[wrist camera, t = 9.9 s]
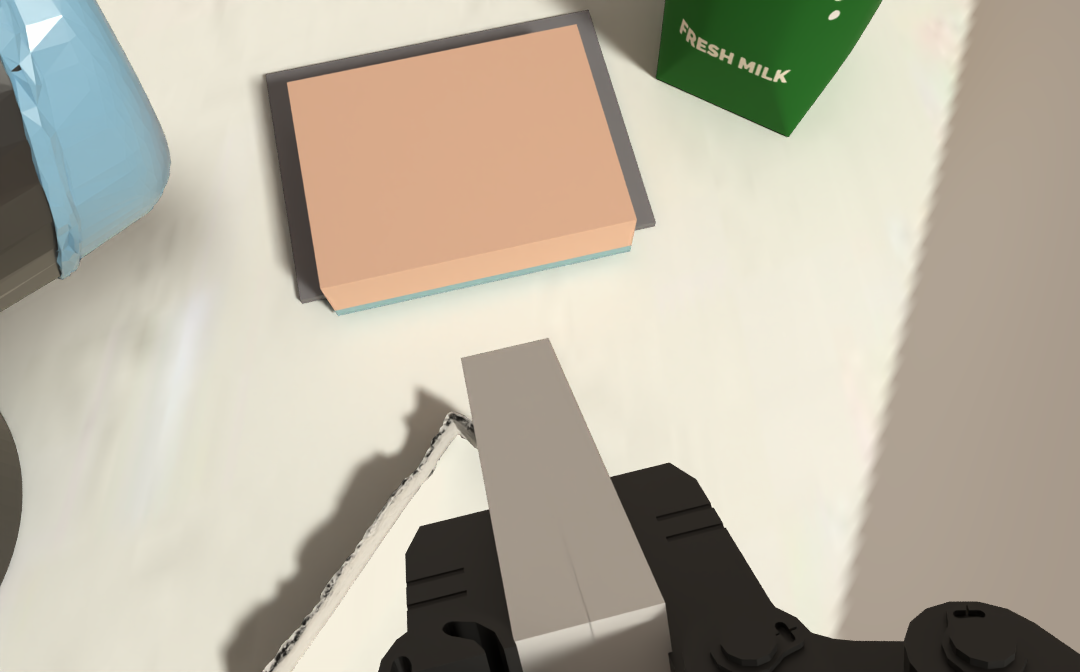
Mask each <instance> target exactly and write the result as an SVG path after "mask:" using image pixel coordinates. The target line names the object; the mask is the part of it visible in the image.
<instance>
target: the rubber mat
mask: <svg viewBox="0 0 1080 672" xmlns="http://www.w3.org/2000/svg"><path fill="white" fill-rule="evenodd" d="M575 24H577V27H578V30H579V34H580V37H581V40H582V43H583V47H584V50H585V53H586V56H587V59H588V63H589V66H590V69H591V72H592V76H593V79H594V82H595V85H596V89H597V92H598V95H599V98H600V102H601V105H602V108H603V111H604V115H605V118H606V121H607V124H608V128H609V131H610V134H611V137H612V141H613V144H614V147H615V150H616V154H617V157H618V160H619V163H620V167H621V170H622V173H623V176H624V180H625V183H626V186H627V189H628V192H629V196H630V199H631V202H632V205H633V209H634V212H635V215H636V218H637V221H636V226H635V230H639V229H644V228H648V227H653V226H655V219H654V215H653V212H652V209H651V206H650V203H649V200H648V196H647V193H646V190H645V187H644V184H643V181H642V178H641V174H640V171H639V168H638V165H637V162H636V159H635V155H634V152H633V149H632V146H631V143H630V140H629V136H628V133H627V130H626V127H625V124H624V121H623V117H622V114H621V111H620V108H619V105H618V102H617V98H616V95H615V92H614V89H613V86H612V83H611V80H610V76H609V73H608V70H607V67H606V64H605V61H604V57H603V54H602V51H601V48H600V45H599V42H598V38H597V35H596V32H595V29H594V26H593V23H592V19H591V16H590V13H589V10H585V11H580V12H575V13H570V14H565V15H560V16H555V17H550V18H545V19H540V20H535V21H530V22H525V23H520V24H515V25H510V26H505V27H500V28H495V29H490V30H485V31H480V32H475V33H470V34H465V35H460V36H455V37H450V38H445V39H440V40H435V41H430V42H425V43H420V44H415V45H410V46H405V47H400V48H395V49H390V50H385V51H380V52H375V53H370V54H365V55H360V56H355V57H351V58H346V59H341V60H336V61H331V62H326V63H321V64H316V65H311V66H306V67H301V68H296V69H291V70H286V71H281V72H276V73H271V74H266V80H267V86H268V93H269V99H270V106H271V112H272V119H273V125H274V132H275V138H276V145H277V152H278V158H279V165H280V171H281V178H282V184H283V191H284V197H285V204H286V210H287V217H288V223H289V230H290V236H291V243H292V250H293V256H294V263H295V269H296V276H297V282H298V289H299V295H300V300H301V302H302V303H307V302H312V301H316V300H321V299H326V297H325V295H324V294H323V292H322V291H321V289H320V283H319V277H318V271H317V265H316V259H315V252H314V246H313V240H312V234H311V228H310V222H309V215H308V209H307V203H306V197H305V191H304V185H303V179H302V172H301V166H300V160H299V154H298V148H297V142H296V135H295V129H294V123H293V117H292V111H291V105H290V99H289V92H288V86H287V82H292V81H297V80H301V79H306V78H311V77H316V76H321V75H326V74H331V73H336V72H341V71H346V70H351V69H356V68H361V67H366V66H371V65H376V64H381V63H386V62H391V61H396V60H401V59H406V58H411V57H416V56H421V55H426V54H431V53H436V52H441V51H446V50H450V49H455V48H460V47H465V46H470V45H475V44H480V43H485V42H490V41H495V40H500V39H505V38H510V37H515V36H520V35H525V34H530V33H535V32H540V31H545V30H550V29H555V28H560V27H565V26H570V25H575Z"/></svg>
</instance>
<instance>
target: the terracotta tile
mask: <svg viewBox="0 0 1080 672" xmlns="http://www.w3.org/2000/svg"><path fill="white" fill-rule="evenodd" d="M287 86H288V92H289V99H290V105H291V111H292V117H293V123H294V129H295V135H296V142H297V148H298V154H299V160H300V166H301V172H302V179H303V185H304V191H305V197H306V203H307V209H308V215H309V222H310V228H311V234H312V240H313V246H314V252H315V259H316V265H317V271H318V277H319V283H320V289H321V291H322V292H323V294H324V295H325V297H326V298H327V300H328V301H329V303H330V304H331V306H332V307H333V309H334V310H335V312H336V313H337V315H338V316H340V315H344V314H349V313H353V312H358V311H362V310H367V309H371V308H376V307H380V306H385V305H389V304H394V303H398V302H403V301H407V300H412V299H416V298H421V297H425V296H430V295H434V294H439V293H443V292H448V291H452V290H457V289H462V288H466V287H471V286H475V285H480V284H484V283H489V282H493V281H498V280H502V279H507V278H511V277H516V276H520V275H525V274H529V273H534V272H538V271H543V270H547V269H552V268H556V267H561V266H565V265H570V264H574V263H579V262H583V261H588V260H592V259H597V258H601V257H606V256H610V255H615V254H620V253H624V252H629V251H630V249H631V244H632V240H633V235H634V231H635V226H636V221H637V218H636V215H635V212H634V209H633V205H632V202H631V199H630V196H629V192H628V189H627V186H626V183H625V180H624V176H623V173H622V170H621V167H620V163H619V160H618V157H617V154H616V150H615V147H614V144H613V141H612V137H611V134H610V131H609V128H608V124H607V121H606V118H605V115H604V111H603V108H602V105H601V102H600V98H599V95H598V92H597V89H596V85H595V82H594V79H593V76H592V72H591V69H590V66H589V63H588V59H587V56H586V53H585V50H584V47H583V43H582V40H581V37H580V34H579V30H578V27H577V24H575V25H570V26H565V27H560V28H555V29H550V30H545V31H540V32H535V33H530V34H525V35H520V36H515V37H510V38H505V39H500V40H495V41H490V42H485V43H480V44H475V45H470V46H465V47H460V48H455V49H450V50H446V51H441V52H436V53H431V54H426V55H421V56H416V57H411V58H406V59H401V60H396V61H391V62H386V63H381V64H376V65H371V66H366V67H361V68H356V69H351V70H346V71H341V72H336V73H331V74H326V75H321V76H316V77H311V78H306V79H301V80H297V81H292V82H287Z"/></svg>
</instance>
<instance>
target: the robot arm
mask: <svg viewBox="0 0 1080 672" xmlns="http://www.w3.org/2000/svg"><path fill="white" fill-rule="evenodd" d="M170 164H171V159H170V152H169V148H168V144H167V141H166V137H165V135H164V132H163V130H162V127H161V124H160V122H159V120H158V118H157V116H156V114H155V112H154V110H153V108H152V106H151V103H150V101H149V99H148V97H147V95H146V93H145V91H144V89H143V87H142V85H141V83H140V81H139V79H138V77H137V75H136V73H135V72H134V70H133V68H132V66H131V64H130V62H129V60H128V58H127V56H126V54H125V52H124V50H123V49H122V47H121V45H120V43H119V41H118V39H117V38H116V36H115V34H114V32H113V30H112V29H111V27H110V25H109V23H108V21H107V19H106V18H105V16H104V14H103V12H102V11H101V9H100V7H99V5H98V3H97V2H96V0H0V312H1V311H3V310H4V309H6V308H8V307H9V306H11V305H13V304H14V303H16V302H18V301H19V300H21V299H23V298H24V297H26V296H28V295H29V294H31V293H33V292H34V291H36V290H38V289H39V288H41V287H43V286H44V285H46V284H48V283H50V282H51V281H53V280H55V279H56V278H59V279H61V280H63V279H64V278H66V277H68V276H70V273H71V272H74V271H76V270H77V268H78V266H79V263H80V259H81V258H83V257H84V256H86V255H87V254H89V253H90V252H91V251H93V250H94V249H96V248H97V247H99V246H100V245H102V244H103V243H104V242H106V241H107V240H109V239H110V238H112V237H113V236H115V235H116V234H118V233H119V232H121V231H122V230H124V229H125V228H127V227H128V226H129V225H131V224H132V223H134V222H135V221H137V220H138V219H140V218H141V217H143V216H144V215H146V214H147V213H148V212H149V211H150V210H152V209H153V206H154V205H155V204H156V203H157V202H158V200H159V198H160V197H161V195H162V193H163V190H164V187H165V186H166V184H167V182H168V178H169V175H170ZM461 361H462V366H463V372H464V377H465V382H466V388H467V393H468V398H469V404H470V409H471V414H472V420H473V425H474V431H475V436H476V441H477V447H478V452H479V457H480V463H481V468H482V473H483V479H484V484H485V489H486V495H487V500H488V505H489V510H485V511H481V512H477V513H473V514H469V515H464V516H460V517H456V518H452V519H448V520H444V521H440V522H436V523H432V524H428V525H424V526H420V527H419V529H418V531H417V533H416V535H415V537H414V539H413V541H412V542H411V544H410V546H409V548H408V550H407V552H406V554H405V558H406V583H407V587H406V595H407V608H408V611H407V632H406V633H405V634H404V635H402V636H401V637H400V638H398V639H397V640H396V641H395V642H394V644H393V645H392V646H391V648H390V649H389V651H388V652H387V653H386V655H385V656H384V657H383V659H382V660H381V663H380V667H379V671H378V672H1080V654H1079V653H1077V652H1076V651H1074V650H1073V649H1071V648H1070V647H1068V646H1067V645H1065V644H1064V643H1062V642H1061V641H1060V640H1058V639H1057V638H1055V637H1054V636H1053V635H1051V634H1050V633H1048V632H1047V631H1045V630H1044V629H1042V628H1041V627H1040V626H1038V625H1037V624H1035V623H1034V622H1032V621H1029V620H1028V619H1026V618H1024V617H1022V616H1020V615H1018V614H1016V613H1014V612H1012V611H1010V610H1008V609H1005V608H1002V607H998V606H993V605H989V604H985V603H981V602H947V603H944V604H940V605H937V606H934V607H930V608H927V609H925V610H924V611H923V612H922V613H920V614H919V615H918V616H917V617H916V618H914V619H913V620H912V621H911V622H910V624H909V627H908V630H907V633H906V636H905V640H904V641H850V640H840V639H832V638H829V637H825V636H821V635H818V634H814V633H812V632H810V631H809V630H808V629H807V628H806V627H805V626H804V625H803V624H802V623H801V622H800V621H799V620H798V618H796V617H794V616H792V615H790V614H788V613H786V612H784V611H782V610H780V609H778V608H776V607H775V606H774V605H773V604H772V602H771V601H770V599H769V598H768V596H767V595H766V593H765V591H764V590H763V588H762V586H761V585H760V583H759V581H758V580H757V578H756V577H755V575H754V573H753V572H752V570H751V568H750V567H749V565H748V563H747V562H746V560H745V559H744V557H743V555H742V554H741V552H740V550H739V549H738V547H737V545H736V544H735V542H734V541H733V539H732V537H731V536H730V534H729V532H728V531H727V529H726V528H724V526H723V523H722V521H721V519H720V518H719V516H718V514H717V513H716V511H715V509H714V508H712V507H711V503H710V501H709V500H708V498H707V496H706V495H705V493H704V491H703V490H702V488H701V487H700V485H699V483H698V482H697V480H696V479H695V478H693V477H691V476H690V475H688V474H687V473H685V472H684V471H682V470H680V469H679V468H677V467H676V466H674V465H672V464H671V463H666V464H662V465H658V466H654V467H650V468H645V469H641V470H637V471H633V472H629V473H625V474H621V475H617V476H613V477H609V474H608V472H607V470H606V468H605V465H604V463H603V461H602V458H601V456H600V454H599V452H598V449H597V447H596V445H595V443H594V440H593V438H592V436H591V433H590V431H589V429H588V427H587V424H586V422H585V420H584V418H583V415H582V413H581V411H580V409H579V406H578V404H577V402H576V399H575V397H574V395H573V393H572V390H571V388H570V386H569V384H568V381H567V379H566V377H565V374H564V372H563V370H562V368H561V365H560V363H559V361H558V359H557V356H556V354H555V352H554V349H553V347H552V345H551V343H550V340H549V338H546V339H542V340H538V341H533V342H529V343H525V344H520V345H516V346H511V347H507V348H503V349H498V350H494V351H490V352H485V353H481V354H477V355H472V356H468V357H464V358H461ZM21 511H22V477H21V468H20V463H19V458H18V454H17V450H16V447H15V443H14V441H13V438H12V435H11V433H10V431H9V428H8V426H7V424H6V422H5V420H4V419H3V417H2V416H1V414H0V585H1V583H2V581H3V579H4V576H5V574H6V572H7V569H8V567H9V564H10V561H11V558H12V555H13V552H14V548H15V544H16V541H17V537H18V531H19V526H20V520H21Z"/></svg>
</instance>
